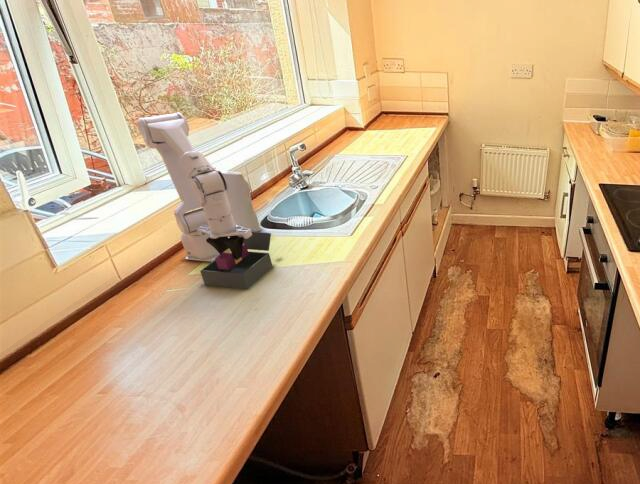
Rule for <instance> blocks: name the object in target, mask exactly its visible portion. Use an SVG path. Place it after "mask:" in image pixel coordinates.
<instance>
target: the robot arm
mask: <svg viewBox="0 0 640 484" xmlns="http://www.w3.org/2000/svg"><path fill="white" fill-rule="evenodd" d="M136 123H137V127H138V130H139V133H140V135H141V137H142V139H143V141H144V143H145V145H146V146H147V148H149V149H155V150H156V151H157V152H158V154H159V155H160V156H161V158H162V161H163V163H164V166H165V168H166V170H167V172H168V175H169V177H170V179H171V181H172V183H173V186H174V188H175V190H176V192H177V194H178V197H179V199H180V203H179V204H178V206H177V207H175V209H174V212H173V215H174V217H175V221H176V225H177V227H178V229H179V230H180V231H181V233H182V234H181V237H180V238H181V239H180V240H181V241H180V242H181V244H182V247H183V249H184V252H185V254H186V257H184V259H185V260H187V261H199V262H200V261H201V262H209V263H211V262H213V261H214V260H215V258H216V257H217V256H219V255H220V254H222V253H223V252H224V251H226V250H227V249H228V248H229V249H230V250H231V253H232V255H233V257H234V259H235V260H238V259H239V258H241V257H242V248H243V242H244V239H248V238H249V237H250V236H252V232H251V229H246V228H243V227H240V226H238V225H235V221H234V218H233V215H232V212H231V208H230V205H229V202H228V199H227V195H226V192H225V191H224V190H227V182H226V180H225V178H224V176H223V174H222V173H221V172H222V171H221V170H220V169H219V168H218V169H217V168H216V167H213V166H212V165H211V163H210V161H208V159H207V157H206V156H205V155H204V154H203V153H202V152H200V151H196V150H195V149H194V147H193V145H192V143H191V142H190V140H189V138H188V136H189V135H190V134H189V132H190V125H189V122H188V121H187V119H186V117H185V115H184V114H182V113H181V112H175V113H168V114H162V115H161V114H160V115H154V116H148V117H139V118H138V119H137V121H136Z"/></svg>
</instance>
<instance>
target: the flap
mask: <svg viewBox="0 0 640 484" xmlns="http://www.w3.org/2000/svg"><path fill="white" fill-rule="evenodd" d="M271 238H272V232H263V231H262V232H260V231H257V232H252V236H250V237H249V238H248V239H244V242H243V244H246V246H247V249H248V250H249V251H250V250H252V251H261V252H262V251H263V252H270V245H271Z"/></svg>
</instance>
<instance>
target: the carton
mask: <svg viewBox="0 0 640 484" xmlns="http://www.w3.org/2000/svg"><path fill="white" fill-rule="evenodd" d="M248 253H249V255H247V256H246V257H245V258H243V259H242V260H241V261H240V262H238V263H237V264H235V265H234V266H233V267H232V268H230V269H229V270H224V269H218V266H217V263H216V260H214V261H213V262H209V264H207V265H206V266H204V267H203V268H201V269H200V270H199V272H200V275H201V277H202V281H203V283H204V285H205V286H211V287H222V288H232V289H233V288H234V289H243V290H244V289H245V290H248V289H249V288H250V287H252V286H253V285H254V284H255V283H256V282H258V280H260V278H262V277H263V276H264V275H265V274H267V272H269V271H270V270H271V269H272V268H273V267H274V266H273V262H272V259H271V255H270V252H264V251H263V252H262V251H250V250H248Z"/></svg>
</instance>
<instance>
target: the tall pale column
mask: <svg viewBox="0 0 640 484" xmlns="http://www.w3.org/2000/svg"><path fill="white" fill-rule="evenodd" d="M221 173H222V174H223V176H224V178H225V180H226V182H227V190H224V191H225V192H226V195H227V199H228V202H229V205H230V208H231V212H232V215H233V218H234V221H235V225H238V226H240V227H243V228H246V229H251V232H260V231H261V230H262V229H261V226H260V221H259V219H258V215H257V212H256V210H255V208H254V205H253V201H252V196H251V194H250V193H251V187H250V183H249V182H248V181H247V180H246V179H245V177H244V175H243V173H241V172H239V171H238V172H237V171H233V170H232V171H231V170H228V171H221Z"/></svg>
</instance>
